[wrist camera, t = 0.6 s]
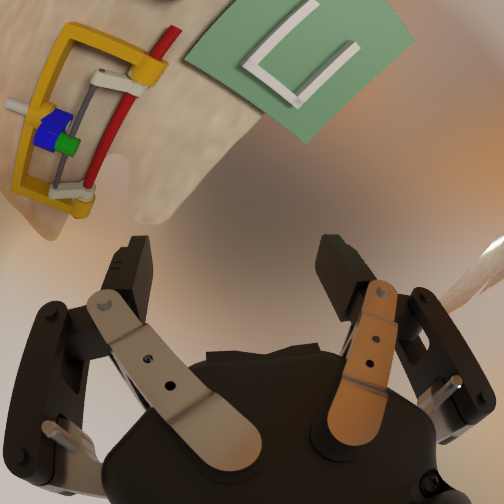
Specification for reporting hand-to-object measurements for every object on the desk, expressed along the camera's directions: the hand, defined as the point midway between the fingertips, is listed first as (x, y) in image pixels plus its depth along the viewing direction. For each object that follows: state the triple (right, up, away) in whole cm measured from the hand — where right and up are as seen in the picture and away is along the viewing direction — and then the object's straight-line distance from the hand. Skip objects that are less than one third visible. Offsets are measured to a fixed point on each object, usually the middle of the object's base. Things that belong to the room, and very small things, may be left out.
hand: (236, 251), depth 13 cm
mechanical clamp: (-23, +18, +13) cm, 32 cm away
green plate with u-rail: (+8, +26, +13) cm, 30 cm away
